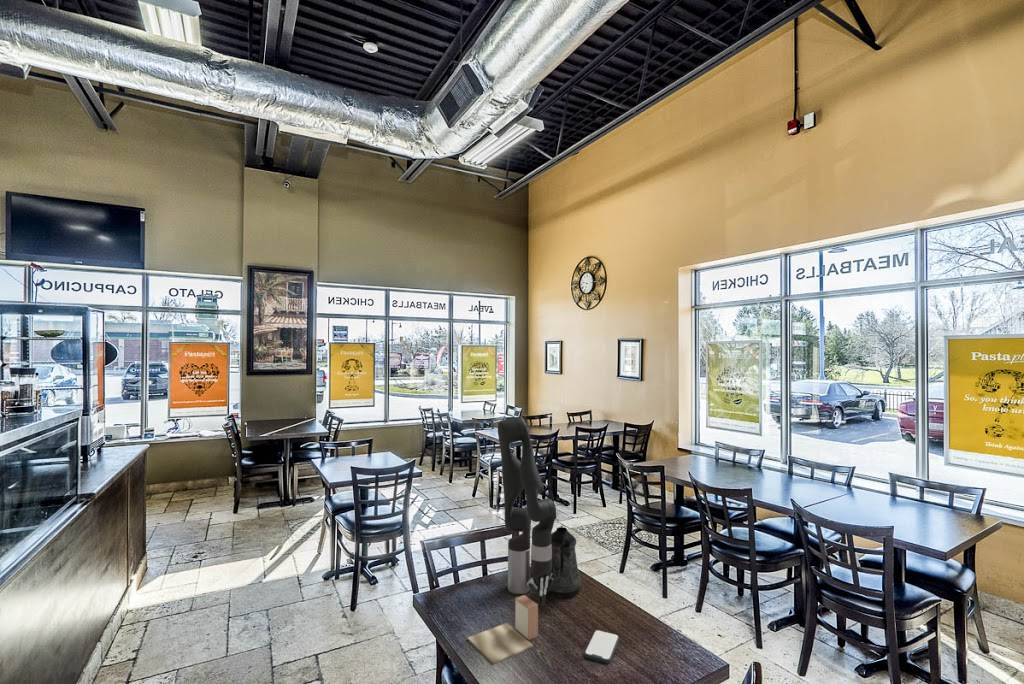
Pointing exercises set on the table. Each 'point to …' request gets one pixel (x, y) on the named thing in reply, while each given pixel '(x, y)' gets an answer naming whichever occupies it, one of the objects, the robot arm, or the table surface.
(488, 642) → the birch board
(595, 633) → the phone case
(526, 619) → the salmon pink block
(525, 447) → the robot arm
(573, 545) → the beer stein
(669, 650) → the table surface
